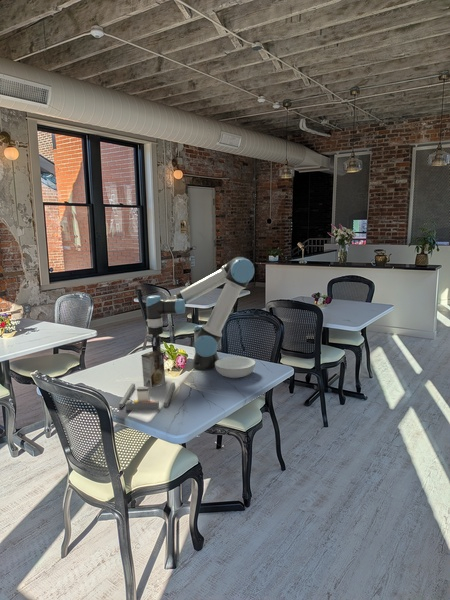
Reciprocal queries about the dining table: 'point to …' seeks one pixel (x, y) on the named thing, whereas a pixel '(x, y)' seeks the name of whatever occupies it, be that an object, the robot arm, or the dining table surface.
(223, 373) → the serving bowl
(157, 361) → the coffee box
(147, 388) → the switch lever
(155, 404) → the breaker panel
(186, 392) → the dining table surface
